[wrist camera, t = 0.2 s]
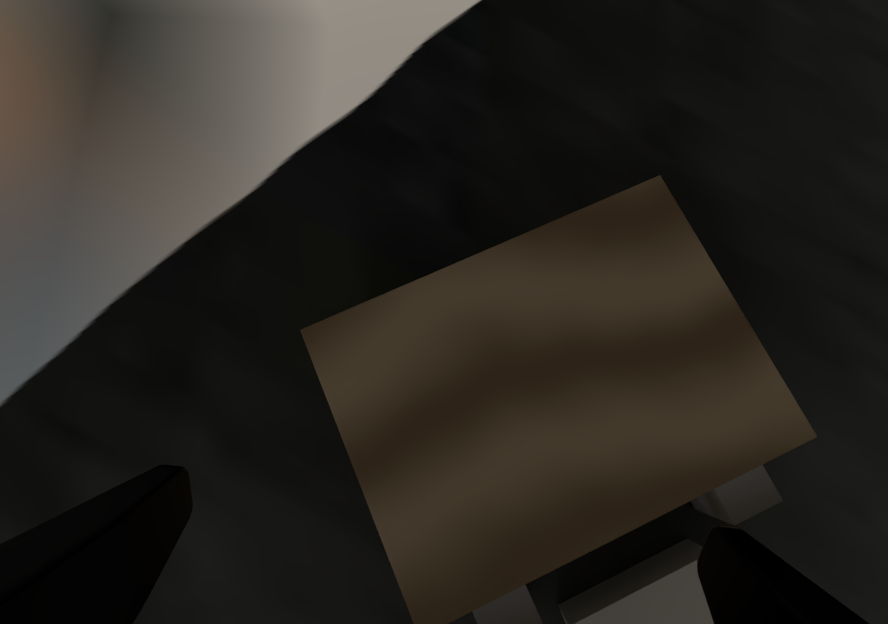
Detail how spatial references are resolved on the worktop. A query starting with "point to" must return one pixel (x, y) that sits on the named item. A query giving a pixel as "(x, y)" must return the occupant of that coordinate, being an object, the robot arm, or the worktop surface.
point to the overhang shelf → (551, 403)
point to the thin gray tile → (646, 593)
